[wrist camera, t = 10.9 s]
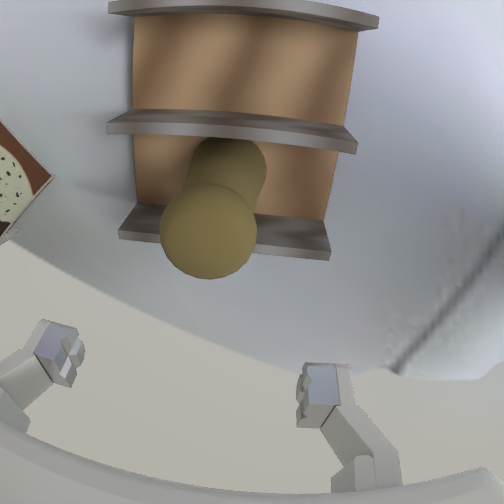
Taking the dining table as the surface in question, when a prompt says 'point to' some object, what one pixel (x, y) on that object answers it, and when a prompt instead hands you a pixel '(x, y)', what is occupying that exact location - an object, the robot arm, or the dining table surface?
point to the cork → (215, 209)
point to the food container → (17, 179)
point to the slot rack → (242, 105)
